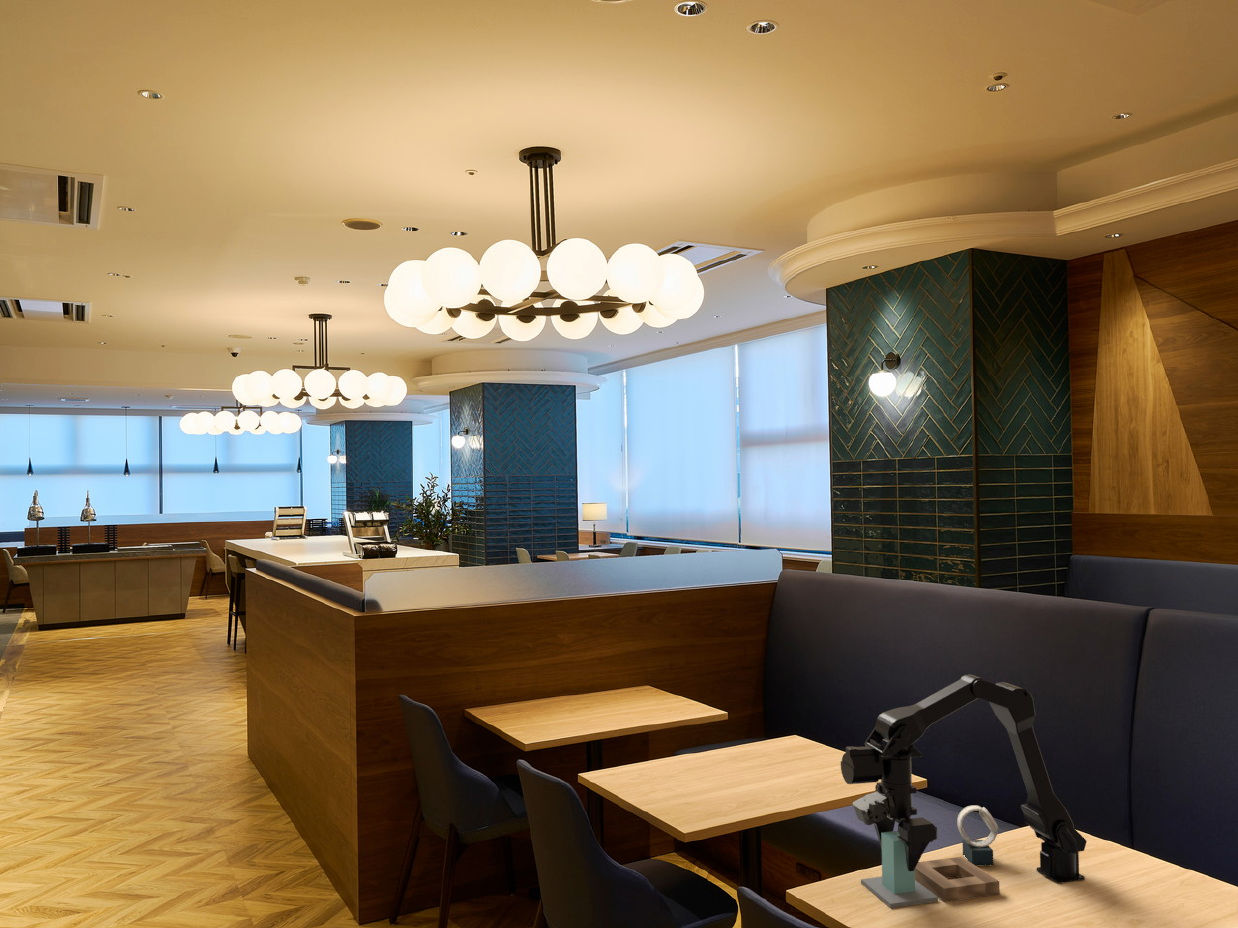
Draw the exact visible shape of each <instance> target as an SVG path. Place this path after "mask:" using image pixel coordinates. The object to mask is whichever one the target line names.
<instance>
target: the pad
mask: <svg viewBox="0 0 1238 928" xmlns="http://www.w3.org/2000/svg"><path fill="white" fill-rule="evenodd" d="M860 884H861V885H862V886H864V888H866V889H867V890H868V891H869V892H871V893H872V894H873V895H874V896H875V897H876V898H878V899H879V900H880V901H881V902H882V903H883V904H885V906H888V907H889V908H890V909H892V908H900V907H909V906H915V905H922V904H929V903H936V902H939V898H938V897H937V896H936V895H934V894H933V893H932V892H930V891H929V890H928V889H926V888H925V887H924V886H922V885H921V884H920V883H918V882H917V881H916V880H915V891H914V892H907V893H899V894H894V893H892V892H891V891H890V890H889V889H887V888H886V887H885V886H884V885H882V876H876V877H867V878H860Z"/></svg>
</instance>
